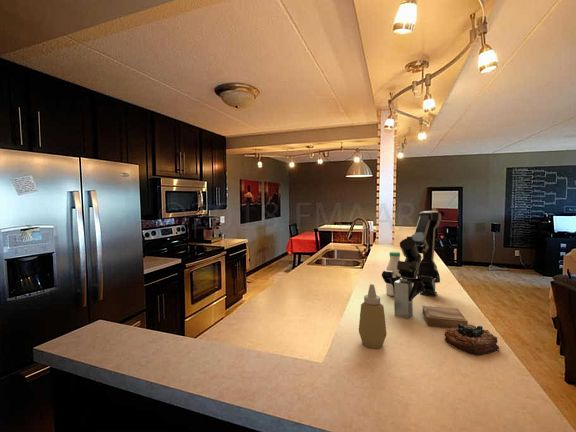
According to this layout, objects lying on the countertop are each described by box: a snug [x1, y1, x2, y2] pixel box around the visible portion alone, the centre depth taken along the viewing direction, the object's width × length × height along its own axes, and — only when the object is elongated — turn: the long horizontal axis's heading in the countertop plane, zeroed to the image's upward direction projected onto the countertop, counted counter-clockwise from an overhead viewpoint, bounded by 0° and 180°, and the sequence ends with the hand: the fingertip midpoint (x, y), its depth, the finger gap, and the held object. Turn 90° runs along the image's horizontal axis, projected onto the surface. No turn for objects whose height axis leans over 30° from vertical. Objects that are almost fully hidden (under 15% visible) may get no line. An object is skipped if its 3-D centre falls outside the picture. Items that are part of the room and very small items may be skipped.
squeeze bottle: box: [358, 284, 387, 349], centre depth 83 cm, size 8×8×18 cm
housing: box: [393, 278, 414, 320], centre depth 105 cm, size 5×5×14 cm
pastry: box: [443, 323, 500, 357], centre depth 82 cm, size 11×12×6 cm
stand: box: [421, 305, 469, 329], centre depth 99 cm, size 12×12×3 cm
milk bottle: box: [385, 251, 401, 297], centre depth 131 cm, size 8×8×20 cm
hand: (402, 299), depth 104 cm, fingers closed on housing, 5 cm apart
